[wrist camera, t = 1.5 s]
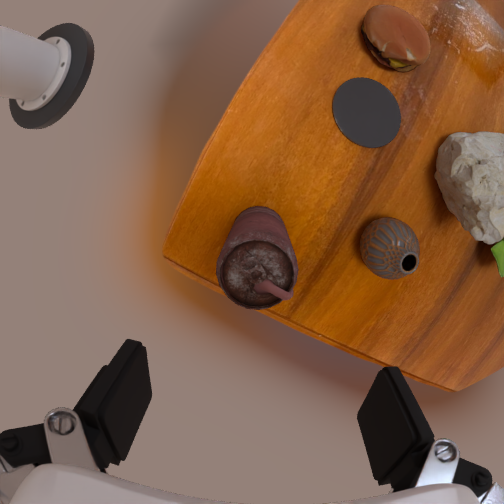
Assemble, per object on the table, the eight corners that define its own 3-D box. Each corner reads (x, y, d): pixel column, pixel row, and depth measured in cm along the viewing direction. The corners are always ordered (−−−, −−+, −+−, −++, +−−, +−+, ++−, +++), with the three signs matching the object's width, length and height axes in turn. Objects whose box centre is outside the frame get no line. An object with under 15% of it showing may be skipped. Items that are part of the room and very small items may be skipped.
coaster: (328, 139, 30) (329, 138, 29) (335, 70, 27) (335, 69, 26) (396, 155, 30) (397, 155, 29) (401, 89, 27) (402, 89, 26)
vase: (391, 269, 34) (421, 299, 26) (346, 259, 34) (370, 288, 26) (407, 220, 32) (444, 238, 24) (362, 206, 32) (393, 221, 23)
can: (273, 264, 34) (279, 326, 21) (225, 242, 34) (202, 294, 20) (295, 220, 33) (318, 259, 19) (246, 196, 32) (234, 220, 19)
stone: (500, 119, 24) (568, 177, 13) (493, 176, 31) (546, 239, 20) (420, 127, 28) (492, 197, 17) (420, 192, 34) (470, 270, 24)
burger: (398, 11, 23) (412, -2, 18) (431, 66, 25) (449, 57, 21) (342, 20, 24) (352, 4, 20) (378, 79, 27) (394, 69, 22)
